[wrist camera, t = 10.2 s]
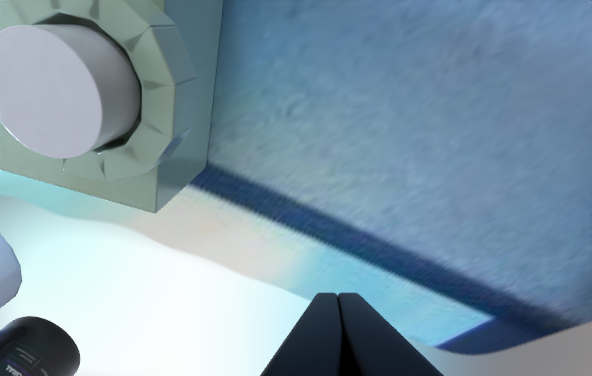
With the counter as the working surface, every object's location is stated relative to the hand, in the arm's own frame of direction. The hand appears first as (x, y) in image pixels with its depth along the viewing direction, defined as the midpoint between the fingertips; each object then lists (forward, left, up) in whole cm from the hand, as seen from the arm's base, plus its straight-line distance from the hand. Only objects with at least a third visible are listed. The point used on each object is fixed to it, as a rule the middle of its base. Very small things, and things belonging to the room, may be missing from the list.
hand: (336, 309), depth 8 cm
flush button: (+9, -4, -6) cm, 12 cm away
